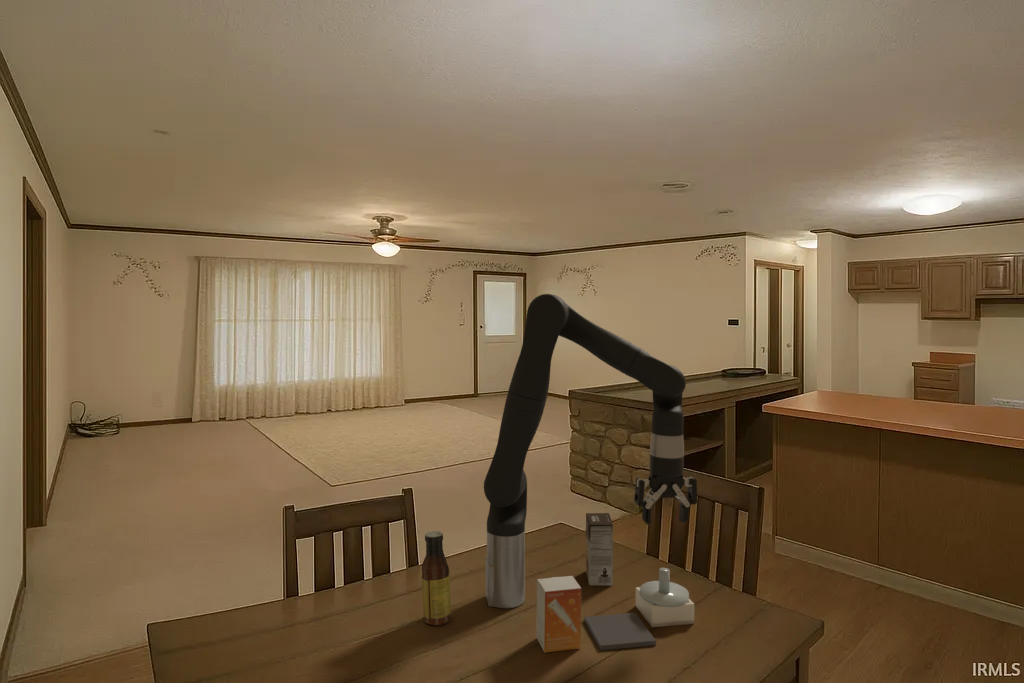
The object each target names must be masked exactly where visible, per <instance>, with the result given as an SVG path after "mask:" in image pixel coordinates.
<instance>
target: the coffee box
mask: <svg viewBox="0 0 1024 683" xmlns="http://www.w3.org/2000/svg"><path fill="white" fill-rule="evenodd" d="M613 554H614V524H613V520H612V517H611V515H610V512H594V513H593V512H592V513H591V512H590V513H589V512H587V513H586V514H585V572H586V573H585V574H586V576H587V581H588V582H587V583H588V585H589V586H613V584H614V583H613V581H614V579H613V576H614V575H613V572H614V571H613V570H614V569H613V566H614V565H613V563H614V562H613V561H614V560H613V559H614V555H613Z"/></svg>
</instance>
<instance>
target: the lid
mask: <svg viewBox="0 0 1024 683" xmlns="http://www.w3.org/2000/svg"><path fill="white" fill-rule="evenodd" d="M670 576H671V572H670V569H669V568H667V567H659V569H658V580H651V581H647V582H644V583H642V584H641V585H640V586H639V587H640V596H641V597H642V598H643V599H644V600H645V601H647V602H649V603H651V604H654V605H658V606H663V607H677V606H681V605H684V604H686V603H687V602H688V601H689V599H690V592H689V591H688V589H687V588H685V587H684V586H682V585H680V584H678V583H675V582H672V581H671V580H670V579H671V578H670Z"/></svg>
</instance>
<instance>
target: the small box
mask: <svg viewBox="0 0 1024 683" xmlns="http://www.w3.org/2000/svg"><path fill="white" fill-rule="evenodd" d="M536 639H537V641H538V643H539V645H540V647H541V649H542V651H543V653H545V654H548V653H551V652H552V653H553V652H560V651H568V650H580V649H581V646H582V645H581V644H582V643H581V641H582V587H581V586H580V584H579V582H577V580H576V578H575V577H574V576H573V575H566V576H552V577H547V578H546V577H545V578H537V579H536Z"/></svg>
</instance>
